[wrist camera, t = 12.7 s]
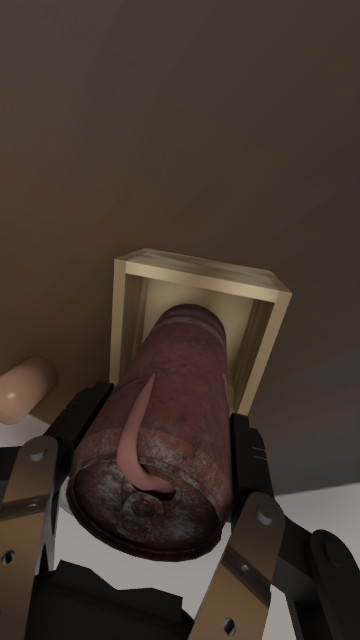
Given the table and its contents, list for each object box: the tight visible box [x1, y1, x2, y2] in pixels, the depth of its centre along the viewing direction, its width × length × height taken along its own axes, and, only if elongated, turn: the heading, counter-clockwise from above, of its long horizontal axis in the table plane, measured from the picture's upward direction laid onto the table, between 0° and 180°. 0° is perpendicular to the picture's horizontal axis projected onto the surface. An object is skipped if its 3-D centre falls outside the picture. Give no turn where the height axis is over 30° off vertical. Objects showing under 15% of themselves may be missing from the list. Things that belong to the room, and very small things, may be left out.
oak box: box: [109, 248, 292, 416], centre depth 21 cm, size 12×12×7 cm
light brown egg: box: [0, 356, 58, 425], centre depth 28 cm, size 5×5×6 cm
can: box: [65, 304, 233, 562], centre depth 14 cm, size 6×6×14 cm
